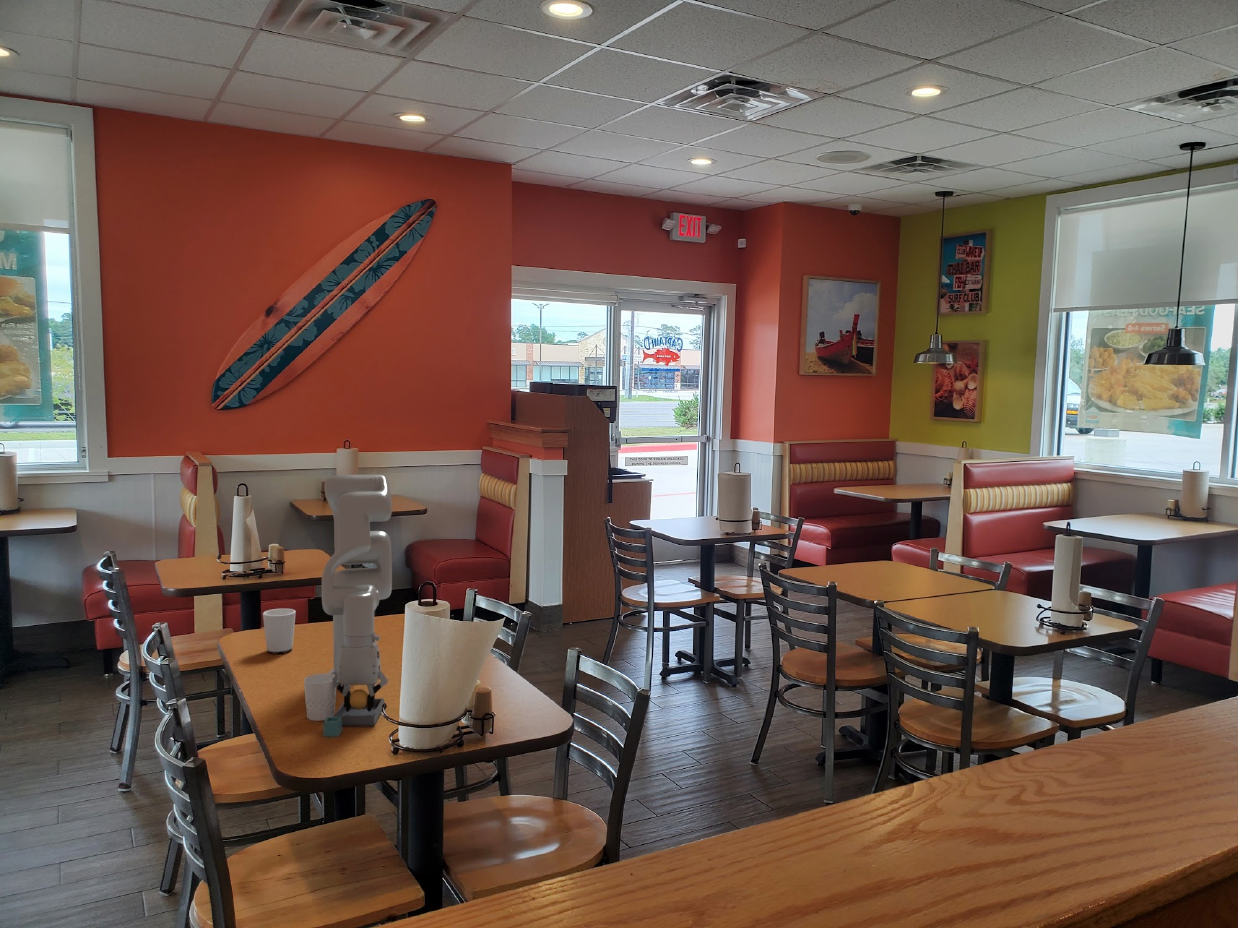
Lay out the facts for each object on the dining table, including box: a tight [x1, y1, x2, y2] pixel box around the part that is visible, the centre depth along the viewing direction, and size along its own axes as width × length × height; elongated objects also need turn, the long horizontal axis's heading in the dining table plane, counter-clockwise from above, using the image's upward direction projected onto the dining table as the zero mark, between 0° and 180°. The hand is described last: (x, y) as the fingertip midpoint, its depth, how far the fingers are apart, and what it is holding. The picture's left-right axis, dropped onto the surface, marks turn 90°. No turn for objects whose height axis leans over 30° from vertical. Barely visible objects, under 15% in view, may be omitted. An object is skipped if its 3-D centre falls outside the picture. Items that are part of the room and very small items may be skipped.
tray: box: [333, 697, 385, 728], centre depth 226 cm, size 13×10×3 cm
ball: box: [349, 688, 369, 709], centre depth 226 cm, size 5×5×5 cm
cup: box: [262, 608, 297, 655], centre depth 281 cm, size 10×10×13 cm
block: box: [322, 717, 343, 738], centre depth 215 cm, size 4×4×4 cm
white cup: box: [303, 673, 337, 722], centre depth 226 cm, size 8×8×10 cm
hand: (359, 708), depth 226 cm, fingers closed on ball, 4 cm apart
